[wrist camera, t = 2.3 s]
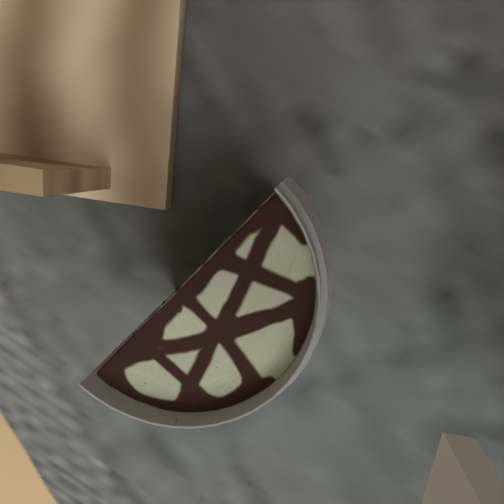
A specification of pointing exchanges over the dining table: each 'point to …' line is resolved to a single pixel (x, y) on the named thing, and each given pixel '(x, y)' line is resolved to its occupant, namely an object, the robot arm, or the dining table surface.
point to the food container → (228, 324)
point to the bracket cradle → (90, 98)
